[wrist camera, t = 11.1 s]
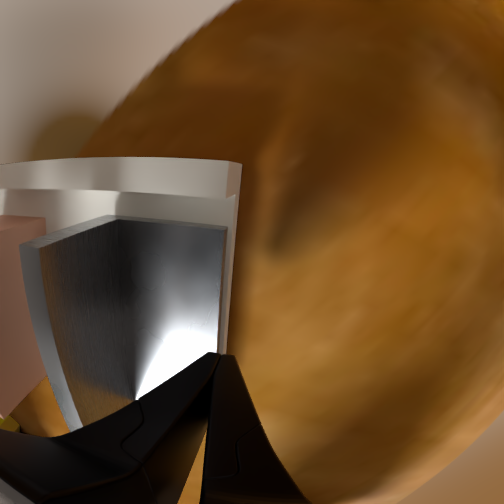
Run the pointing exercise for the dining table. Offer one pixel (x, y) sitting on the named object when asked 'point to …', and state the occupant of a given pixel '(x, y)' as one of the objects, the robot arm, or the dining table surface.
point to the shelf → (128, 196)
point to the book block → (17, 315)
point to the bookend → (122, 307)
